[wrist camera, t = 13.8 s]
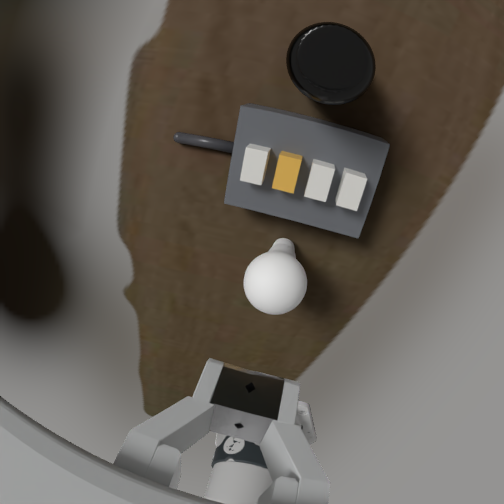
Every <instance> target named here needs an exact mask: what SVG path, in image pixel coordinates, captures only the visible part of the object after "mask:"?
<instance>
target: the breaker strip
mask: <svg viewBox="0 0 504 504" xmlns="http://www.w3.org/2000/svg"><path fill="white" fill-rule="evenodd" d="M174 141H175V142H177V143H182V144H188V145H193V146H198V147H204V148H209V149H214V150H219V151H224V152H229V153H232V158H231V164H230V170H229V176H228V182H227V188H226V194H225V200H224V203H225V204H229V205H233V206H237V207H242V208H246V209H250V210H254V211H258V212H261V213H265V214H269V215H273V216H277V217H281V218H285V219H289V220H292V221H296V222H300V223H304V224H307V225H311V226H315V227H318V228H322V229H326V230H329V231H333V232H337V233H340V234H344V235H347V236H351V237H354V238H359V236H360V233H361V230H362V227H363V225H364V222H365V219H366V216H367V214H368V211H369V208H370V205H371V202H372V199H373V196H374V193H375V190H376V187H377V184H378V181H379V178H380V175H381V172H382V169H383V166H384V163H385V159H386V156H387V153H388V150H389V146H390V144H389V143H387V142H386V141H385V140H384V139H383V138H381V137H378V136H375V135H372V134H369V133H366V132H363V131H359V130H356V129H353V128H350V127H346V126H343V125H339V124H336V123H332V122H329V121H325V120H321V119H317V118H314V117H310V116H306V115H302V114H297V113H293V112H289V111H285V110H280V109H276V108H271V107H266V106H261V105H256V104H251V103H249V104H245V105H241V107H240V113H239V118H238V124H237V129H236V135H235V141H234V142H230V141H225V140H220V139H215V138H210V137H204V136H199V135H193V134H187V133H181V132H177V133H176V134H175V135H174Z"/></svg>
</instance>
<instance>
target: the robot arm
mask: <svg viewBox="0 0 504 504" xmlns="http://www.w3.org/2000/svg"><path fill="white" fill-rule="evenodd" d="M299 392H300V383H299V382H297V381H293V380H288V379H284V378H281V377H277V376H273V375H268V374H264V373H260V372H256V371H250V370H247V369H243V368H240V367H237V366H234V365H230V364H227V363H224V362H221V361H218V360H214V359H211V358H209V359H208V361H207V363H206V365H205V367H204V370H203V372H202V375H201V377H200V380H199V382H198V385H197V387H196V389H195V392H194V394H193V397H189V396H187V397H186V398H184V399H182V400H181V401H179V402H177V403H176V404H174V405H172V406H171V407H169V408H167V409H166V410H164V411H162V412H161V413H159V414H157V415H155V416H154V417H152V418H150V419H148V420H147V421H145V422H143V423H142V424H140V425H138V426H136V427H134V428H133V429H131V430H130V432H129V434H128V436H127V438H126V440H125V442H124V444H123V446H122V447H121V449H120V451H119V453H118V455H117V457H116V459H115V461H114V463H113V464H112V463H109V462H107V461H105V460H103V459H101V458H99V457H97V456H95V455H93V454H91V453H89V452H87V451H85V450H84V449H82V448H80V447H78V446H76V445H74V444H72V443H71V442H69V441H67V440H65V439H64V438H62V437H60V436H59V435H57V434H55V433H53V432H52V431H50V430H49V429H47V428H45V427H44V426H42V425H41V424H39V423H38V422H36V421H34V420H33V419H32V418H30V417H28V416H27V415H26V414H24V413H23V412H21V411H20V410H18V409H17V408H16V407H14V406H13V405H11V404H10V403H9V402H7V401H6V400H5V399H3V398H2V397H1V396H0V504H328V499H329V490H330V481H329V480H328V478H327V476H326V474H325V472H324V470H323V468H322V467H321V465H320V463H319V461H318V459H317V457H316V456H315V454H314V452H313V450H312V449H311V446H310V444H312V443H314V442H316V433H315V428H314V424H313V420H312V414H311V410H310V405H309V404H308V403H306V402H303V401H298V400H299ZM209 431H212V432H216V433H217V436H216V441H215V444H216V446H217V448H216V451H215V454H214V455H213V459H212V460H213V462H212V468H213V470H212V473H211V476H210V479H209V482H208V485H207V488H206V492H205V495H204V498H202V497H199V496H195V495H192V494H189V493H186V492H183V491H180V490H177V486H178V484H179V481H180V477H181V453H183V452H184V451H185V450H187V449H188V448H189V447H191V446H192V445H193V444H195V443H196V442H197V441H198V440H200V439H201V438H202V437H204V436H205V435H206V434H208V433H209Z"/></svg>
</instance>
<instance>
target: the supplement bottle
mask: <svg viewBox="0 0 504 504" xmlns="http://www.w3.org/2000/svg"><path fill="white" fill-rule="evenodd" d="M286 64H287V69H288V73H289V76H290V78H291V80H292V82H293V83H294V85H295V86H296V87H297V88H298V89H299V90H300V91H301V92H302V93H303V94H304V95H305V96H307V97H309V98H310V99H312V100H314V101H317V102H320V103H323V104H329V105H339V104H345V103H348V102H351V101H353V100H355V99H357V98H359V97H360V96H362V95H363V94H364V93H365V92H366V91H367V90H368V88H369V87H370V85H371V83H372V81H373V79H374V75H375V68H376V67H375V58H374V54H373V51H372V49H371V47H370V46H369V44H368V42H367V41H366V40H365V39H364V38H363V37H362V36H361V35H360V34H359V33H358V32H357V31H355V30H354V29H352V28H350V27H348V26H346V25H343V24H339V23H334V22H321V23H316V24H313V25H310V26H308V27H306V28H304V29H303V30H301V31H300V32H299V33H298V34H297V35H296V36H295V37H294V38H293V40H292V41H291V43H290V45H289V48H288V51H287V57H286Z"/></svg>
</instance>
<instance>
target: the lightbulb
mask: <svg viewBox="0 0 504 504" xmlns="http://www.w3.org/2000/svg"><path fill="white" fill-rule="evenodd" d="M306 289H307V276H306V273H305V270H304V268H303V266H302V265H301V263H300V262H299V261H298V260H297V259H296V255H295V249H294V244H293V242H292V241H290V240H289V239H286V238H280V239H278V240H276V241H275V242H274V244H273V246H272V247H271V248H270V250H269V251H268V252H267V253H264V254H261V255H259V256H258V257H257V258H255V259H254V260H253V261H252V262H251V263H250V265H249V266H248V268H247V270H246V272H245V276H244V290H245V294H246V296H247V298H248V300H249V301H250V302H251V304H252V305H253V306H254V307H255V308H257V309H258V310H260V311H262V312H264V313H268V314H283V313H286V312H289V311H291V310H292V309H294V308H295V307H296V306H297V305H298V304H299V303H300V302H301V301H302V299H303V297H304V295H305V293H306Z"/></svg>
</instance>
